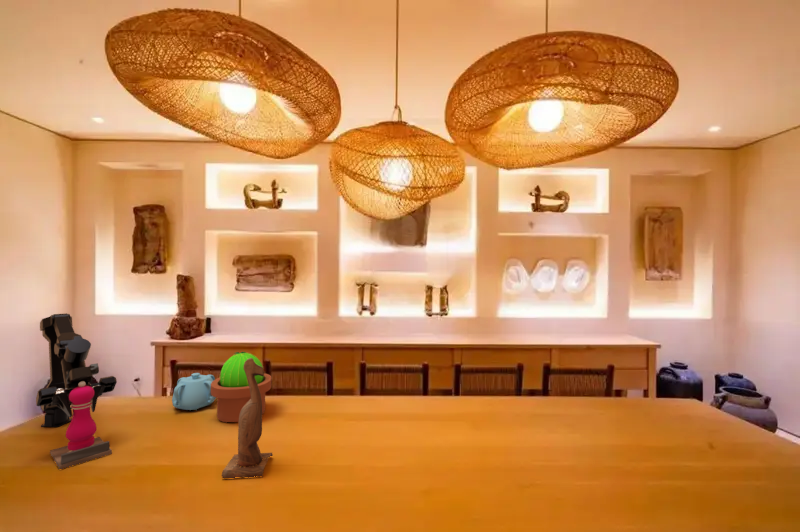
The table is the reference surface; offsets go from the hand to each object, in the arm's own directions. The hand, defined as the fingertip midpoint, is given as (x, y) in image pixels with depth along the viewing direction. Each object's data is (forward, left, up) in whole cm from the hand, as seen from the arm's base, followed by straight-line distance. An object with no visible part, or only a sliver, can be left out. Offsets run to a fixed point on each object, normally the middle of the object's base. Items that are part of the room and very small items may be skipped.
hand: (82, 413), depth 113 cm
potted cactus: (-33, +35, -13) cm, 50 cm away
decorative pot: (-41, +12, -13) cm, 45 cm away
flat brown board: (-1, -1, -13) cm, 13 cm away
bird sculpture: (+6, +54, -13) cm, 56 cm away
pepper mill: (-1, -1, -10) cm, 11 cm away
